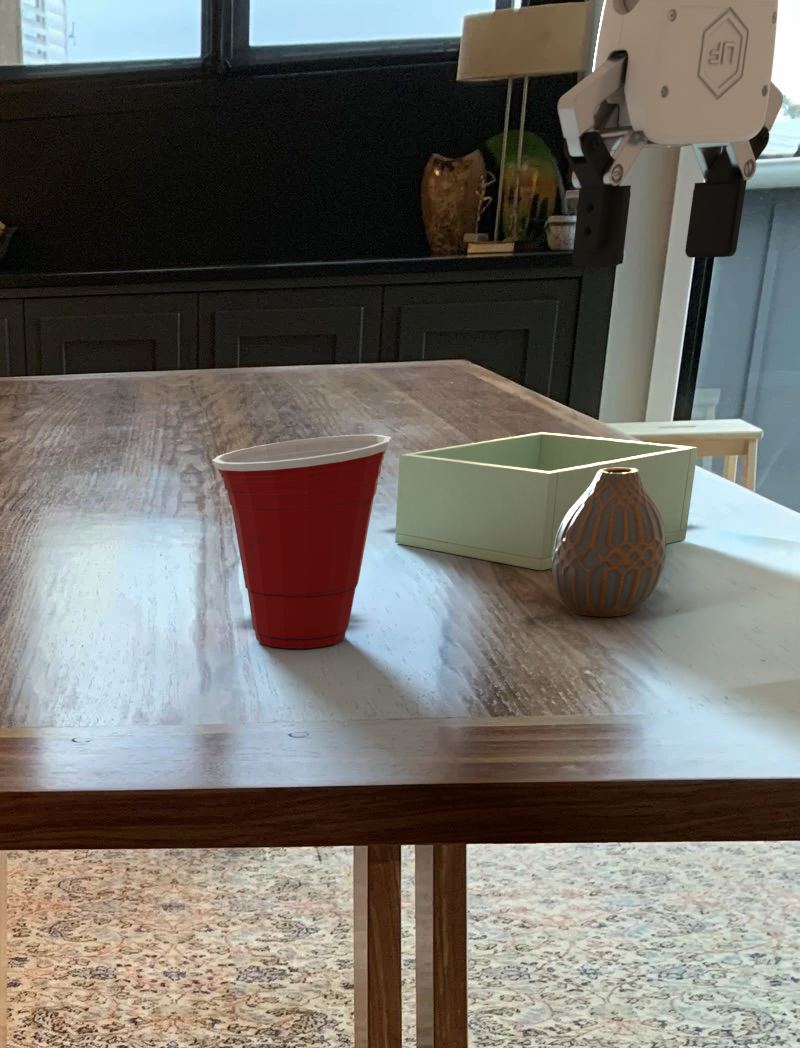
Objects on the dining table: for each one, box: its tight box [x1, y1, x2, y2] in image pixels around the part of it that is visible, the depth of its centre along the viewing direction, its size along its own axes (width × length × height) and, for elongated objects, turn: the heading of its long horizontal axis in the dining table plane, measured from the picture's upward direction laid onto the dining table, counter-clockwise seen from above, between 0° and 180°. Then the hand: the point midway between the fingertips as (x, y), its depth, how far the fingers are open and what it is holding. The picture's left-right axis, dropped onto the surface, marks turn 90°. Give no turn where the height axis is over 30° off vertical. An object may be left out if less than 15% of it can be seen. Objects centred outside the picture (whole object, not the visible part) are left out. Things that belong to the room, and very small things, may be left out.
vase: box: [551, 468, 667, 618], centre depth 98 cm, size 7×7×9 cm
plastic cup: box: [211, 434, 392, 650], centre depth 96 cm, size 11×11×12 cm
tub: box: [394, 431, 699, 572], centre depth 119 cm, size 16×16×7 cm
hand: (654, 261), depth 90 cm, fingers open, 9 cm apart
